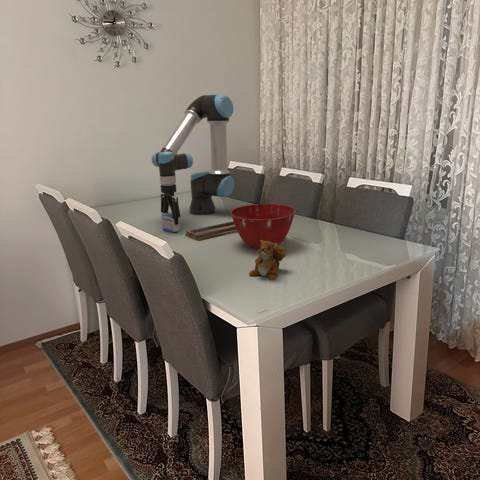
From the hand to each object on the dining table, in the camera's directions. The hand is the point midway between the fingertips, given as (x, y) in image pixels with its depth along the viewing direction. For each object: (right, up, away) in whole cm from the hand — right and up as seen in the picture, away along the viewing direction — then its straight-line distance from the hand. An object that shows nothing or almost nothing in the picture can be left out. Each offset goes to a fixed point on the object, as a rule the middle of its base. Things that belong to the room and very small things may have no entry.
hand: (171, 228), depth 228 cm
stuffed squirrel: (+45, -18, -58) cm, 76 cm away
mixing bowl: (+45, -8, -24) cm, 51 cm away
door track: (+24, -2, -5) cm, 24 cm away
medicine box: (0, -1, 0) cm, 1 cm away
